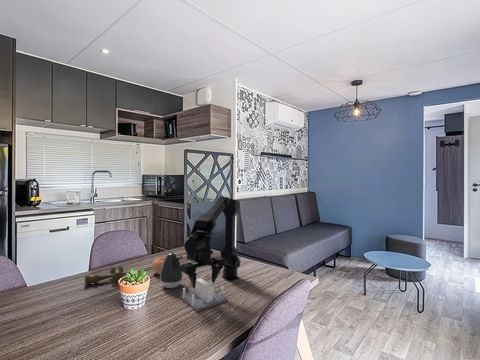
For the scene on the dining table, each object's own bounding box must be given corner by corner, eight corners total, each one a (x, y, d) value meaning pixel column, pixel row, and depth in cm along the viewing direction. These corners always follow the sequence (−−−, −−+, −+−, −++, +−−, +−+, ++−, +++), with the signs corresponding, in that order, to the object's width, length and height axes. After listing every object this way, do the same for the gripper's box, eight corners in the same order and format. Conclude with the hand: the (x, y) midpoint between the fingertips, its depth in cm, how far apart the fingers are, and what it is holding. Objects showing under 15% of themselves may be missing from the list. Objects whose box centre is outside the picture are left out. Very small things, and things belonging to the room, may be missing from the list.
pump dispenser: (177, 291, 117) (177, 257, 116) (155, 289, 119) (156, 255, 118) (186, 282, 127) (187, 251, 126) (166, 280, 129) (166, 249, 128)
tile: (200, 291, 115) (200, 278, 115) (212, 300, 107) (213, 286, 107) (195, 293, 113) (195, 279, 113) (207, 302, 105) (207, 287, 105)
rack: (209, 288, 120) (209, 277, 120) (227, 300, 109) (228, 288, 109) (179, 297, 111) (179, 286, 111) (196, 311, 100) (196, 298, 100)
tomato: (156, 278, 131) (156, 262, 131) (148, 272, 139) (148, 256, 139) (176, 273, 138) (176, 258, 137) (167, 267, 146) (168, 253, 146)
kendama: (85, 282, 126) (130, 274, 135) (84, 291, 117) (133, 282, 127) (84, 270, 125) (130, 263, 135) (84, 278, 117) (132, 269, 126)
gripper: (212, 240, 122) (212, 274, 122) (174, 246, 110) (174, 284, 110) (227, 246, 113) (226, 282, 113) (187, 253, 101) (186, 294, 102)
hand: (203, 285), depth 110 cm, fingers open, 9 cm apart
